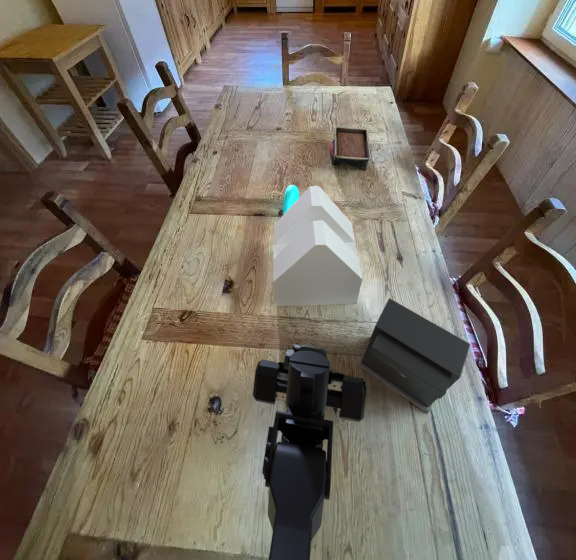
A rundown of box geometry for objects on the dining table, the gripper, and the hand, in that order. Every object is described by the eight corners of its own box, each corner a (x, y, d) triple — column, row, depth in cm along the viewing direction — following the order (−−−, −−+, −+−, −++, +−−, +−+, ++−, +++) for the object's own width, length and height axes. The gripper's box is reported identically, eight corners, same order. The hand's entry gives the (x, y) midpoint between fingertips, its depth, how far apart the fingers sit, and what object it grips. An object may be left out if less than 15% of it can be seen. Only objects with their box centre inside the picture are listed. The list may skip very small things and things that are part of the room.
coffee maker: (423, 426, 64) (457, 399, 50) (351, 376, 70) (364, 339, 56) (439, 379, 70) (474, 343, 56) (371, 336, 76) (387, 294, 62)
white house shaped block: (275, 306, 81) (269, 246, 64) (276, 251, 92) (270, 187, 75) (356, 303, 81) (371, 243, 64) (346, 249, 92) (357, 184, 75)
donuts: (289, 200, 106) (288, 177, 99) (321, 204, 104) (323, 181, 97) (282, 225, 99) (281, 202, 92) (316, 230, 97) (318, 207, 90)
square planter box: (369, 150, 125) (371, 125, 119) (370, 177, 111) (372, 151, 105) (330, 148, 128) (330, 124, 122) (326, 176, 113) (326, 150, 108)
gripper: (374, 376, 49) (365, 331, 65) (250, 353, 52) (269, 315, 68) (366, 453, 49) (359, 389, 65) (242, 426, 52) (263, 371, 67)
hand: (312, 364), depth 66 cm, fingers open, 5 cm apart
